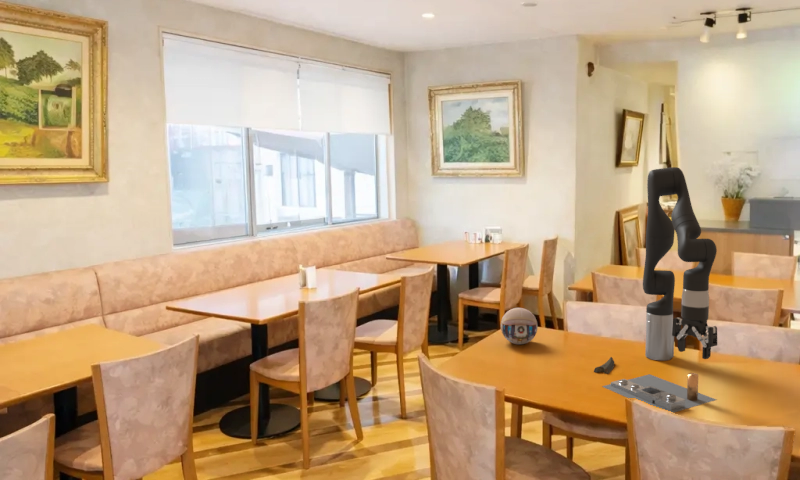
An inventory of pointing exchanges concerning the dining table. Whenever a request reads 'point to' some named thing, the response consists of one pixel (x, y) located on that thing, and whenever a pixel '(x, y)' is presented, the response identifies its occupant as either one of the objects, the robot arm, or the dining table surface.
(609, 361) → the dark grey rock
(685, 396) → the grey flat rectangular plate
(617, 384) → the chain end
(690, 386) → the pin
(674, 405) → the chain end
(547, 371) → the dining table surface
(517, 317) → the ornament
